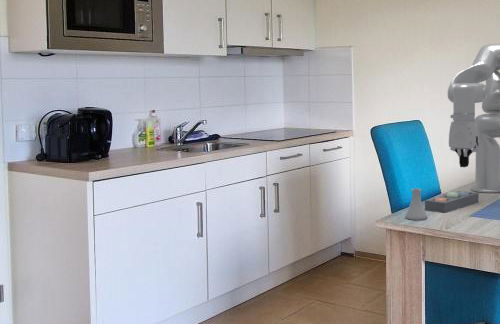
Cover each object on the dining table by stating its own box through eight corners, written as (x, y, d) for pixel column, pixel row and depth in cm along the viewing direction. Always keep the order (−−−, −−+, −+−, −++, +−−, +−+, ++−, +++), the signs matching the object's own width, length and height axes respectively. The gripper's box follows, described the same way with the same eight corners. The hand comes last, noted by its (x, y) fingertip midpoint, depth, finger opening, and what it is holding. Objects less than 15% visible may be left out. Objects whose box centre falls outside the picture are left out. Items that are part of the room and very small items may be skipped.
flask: (428, 220, 206) (428, 191, 205) (405, 220, 208) (405, 191, 207) (426, 216, 213) (426, 187, 212) (404, 215, 215) (404, 187, 214)
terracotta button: (438, 205, 225) (438, 197, 225) (448, 206, 222) (448, 198, 222) (432, 207, 223) (432, 198, 222) (442, 208, 220) (442, 200, 219)
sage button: (450, 199, 231) (450, 191, 230) (460, 200, 228) (460, 192, 227) (444, 200, 228) (444, 192, 228) (454, 202, 225) (454, 194, 225)
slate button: (461, 198, 236) (461, 190, 236) (471, 199, 233) (471, 192, 233) (455, 200, 233) (455, 192, 233) (465, 201, 230) (465, 193, 230)
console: (459, 199, 239) (459, 190, 238) (478, 202, 233) (478, 193, 233) (424, 209, 223) (424, 200, 223) (444, 212, 217) (444, 203, 217)
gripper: (440, 118, 232) (440, 166, 235) (478, 119, 221) (477, 169, 224) (451, 116, 237) (451, 163, 240) (488, 117, 226) (487, 166, 229)
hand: (464, 166), depth 232 cm, fingers closed
